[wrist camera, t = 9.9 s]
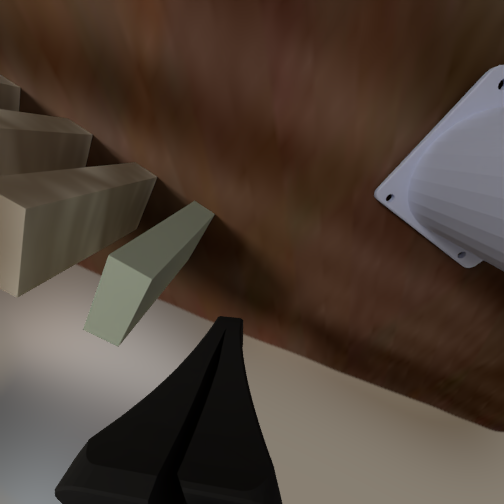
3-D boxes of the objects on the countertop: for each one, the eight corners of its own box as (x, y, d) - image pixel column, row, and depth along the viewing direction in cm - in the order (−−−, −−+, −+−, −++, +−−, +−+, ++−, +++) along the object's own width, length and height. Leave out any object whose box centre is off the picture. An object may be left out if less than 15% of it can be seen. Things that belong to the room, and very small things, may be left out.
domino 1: (92, 134, 15) (-135, 118, 7) (79, 194, 17) (-104, 237, 9) (67, 118, 14) (-202, 80, 6) (57, 181, 16) (-154, 213, 8)
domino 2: (157, 177, 15) (25, 208, 7) (136, 229, 17) (17, 297, 9) (134, 162, 15) (-28, 178, 7) (116, 217, 17) (-24, 277, 9)
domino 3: (214, 214, 16) (152, 279, 8) (188, 259, 18) (118, 346, 10) (194, 200, 16) (108, 255, 8) (170, 248, 18) (83, 329, 10)
